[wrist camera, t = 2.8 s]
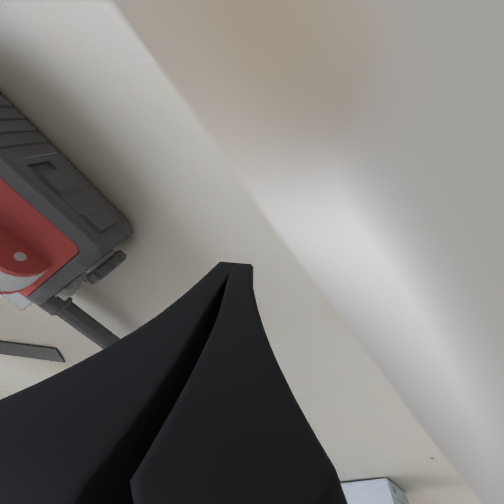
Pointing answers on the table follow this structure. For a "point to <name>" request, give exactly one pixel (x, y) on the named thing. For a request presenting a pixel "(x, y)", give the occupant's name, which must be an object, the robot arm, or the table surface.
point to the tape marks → (30, 351)
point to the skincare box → (373, 492)
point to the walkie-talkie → (52, 227)
